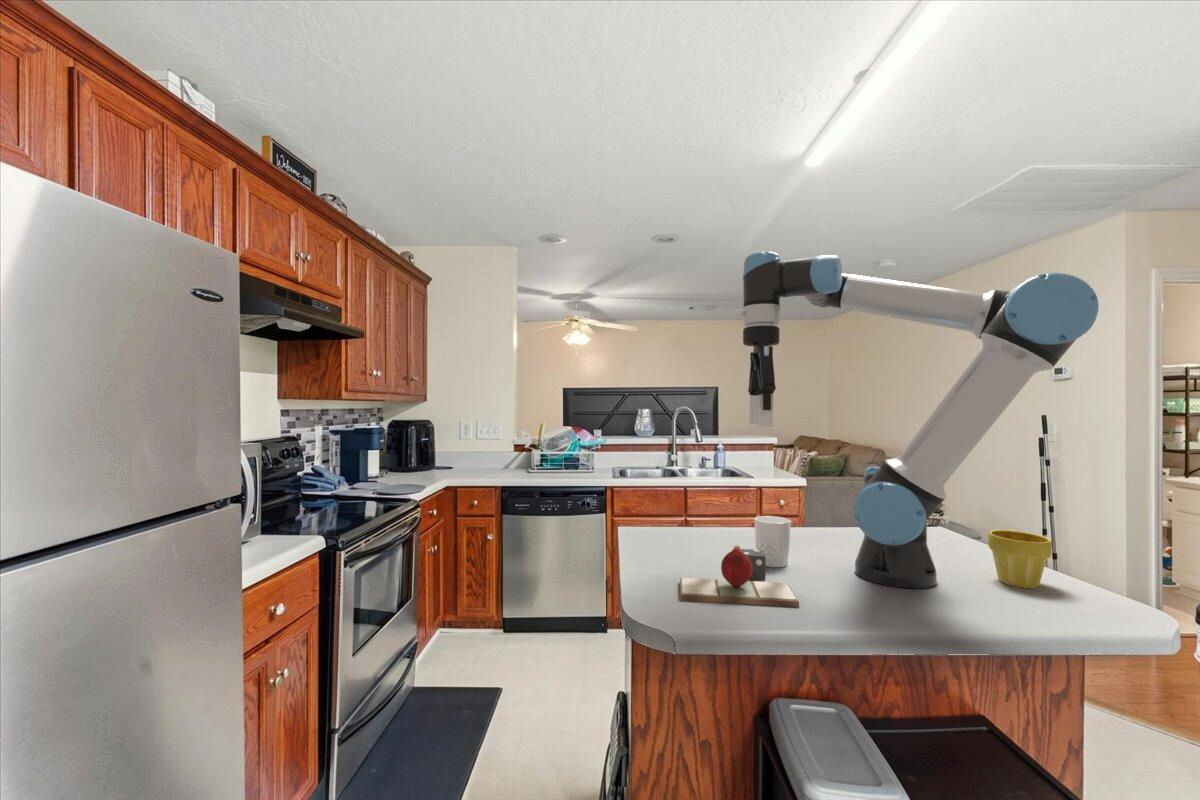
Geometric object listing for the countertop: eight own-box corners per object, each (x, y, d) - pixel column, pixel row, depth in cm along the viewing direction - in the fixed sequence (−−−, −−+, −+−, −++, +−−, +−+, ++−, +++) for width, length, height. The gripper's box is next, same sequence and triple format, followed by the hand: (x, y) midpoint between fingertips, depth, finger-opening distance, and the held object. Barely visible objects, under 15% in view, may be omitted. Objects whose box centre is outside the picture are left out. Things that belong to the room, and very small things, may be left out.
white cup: (795, 568, 120) (795, 523, 120) (759, 568, 120) (760, 523, 120) (783, 558, 128) (784, 516, 128) (750, 558, 128) (750, 515, 128)
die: (761, 573, 117) (761, 549, 117) (765, 580, 112) (765, 555, 112) (737, 571, 118) (738, 548, 118) (740, 579, 112) (740, 554, 112)
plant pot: (1064, 593, 105) (1064, 543, 105) (1005, 590, 107) (1006, 540, 107) (1031, 576, 116) (1031, 530, 116) (977, 573, 117) (978, 528, 117)
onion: (753, 594, 100) (753, 550, 100) (721, 591, 101) (721, 548, 101) (750, 583, 106) (751, 542, 106) (720, 581, 107) (720, 541, 107)
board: (787, 588, 107) (787, 582, 107) (799, 607, 97) (799, 600, 97) (680, 582, 110) (680, 576, 110) (680, 600, 100) (680, 593, 100)
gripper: (736, 334, 130) (736, 422, 129) (751, 317, 105) (750, 427, 105) (769, 333, 129) (768, 423, 128) (791, 317, 104) (790, 428, 104)
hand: (760, 425), depth 117 cm, fingers open, 13 cm apart
